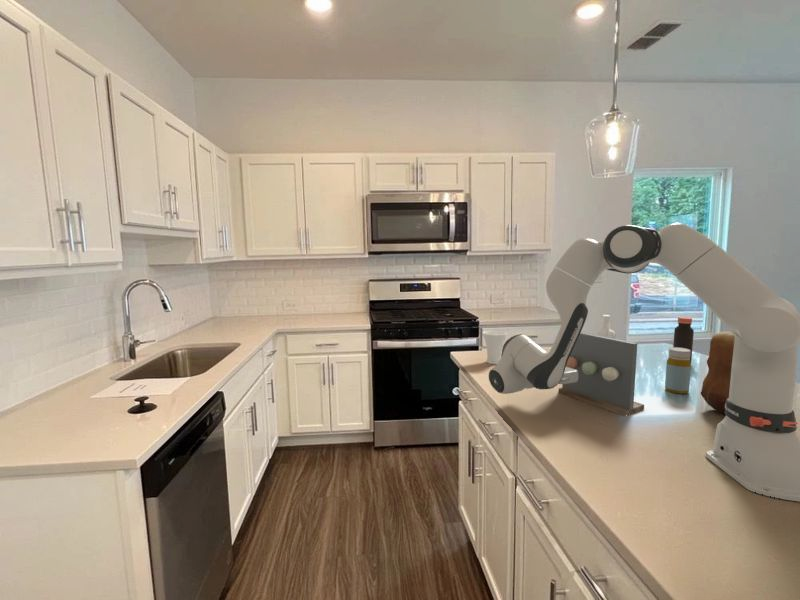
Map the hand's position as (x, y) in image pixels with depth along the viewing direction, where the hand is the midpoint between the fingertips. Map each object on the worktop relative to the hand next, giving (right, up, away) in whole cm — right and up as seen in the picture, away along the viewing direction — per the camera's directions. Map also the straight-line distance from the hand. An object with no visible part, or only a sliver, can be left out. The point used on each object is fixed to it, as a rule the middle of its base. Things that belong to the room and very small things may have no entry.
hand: (561, 365), depth 135 cm
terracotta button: (+4, -2, +3) cm, 5 cm away
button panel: (+13, -12, +1) cm, 17 cm away
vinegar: (+68, -6, +42) cm, 80 cm away
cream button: (+11, -3, -9) cm, 15 cm away
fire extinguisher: (+24, -9, +21) cm, 33 cm away
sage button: (+8, -2, -3) cm, 9 cm away
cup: (-12, -6, +47) cm, 49 cm away
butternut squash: (+46, -13, -11) cm, 49 cm away
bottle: (+44, -10, +9) cm, 46 cm away
